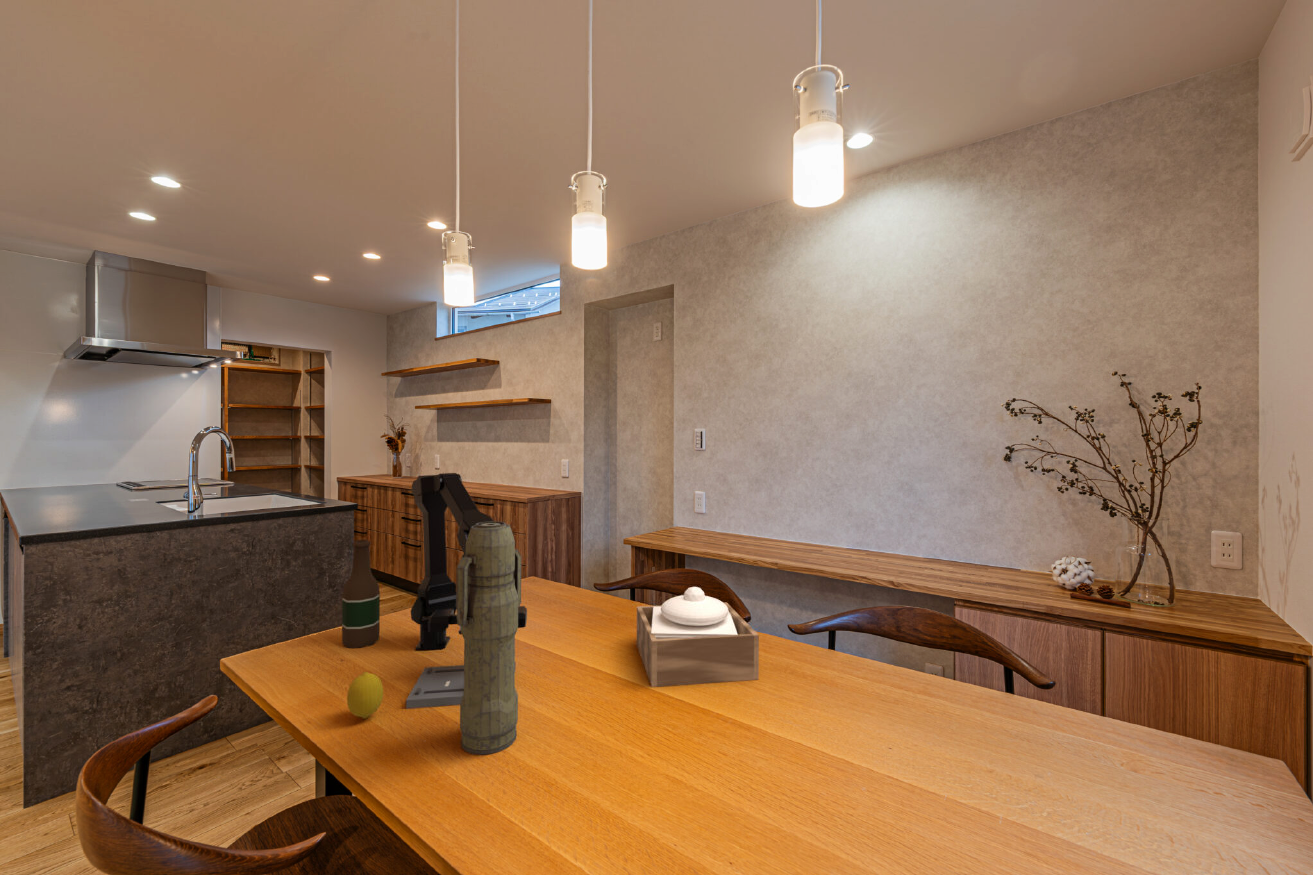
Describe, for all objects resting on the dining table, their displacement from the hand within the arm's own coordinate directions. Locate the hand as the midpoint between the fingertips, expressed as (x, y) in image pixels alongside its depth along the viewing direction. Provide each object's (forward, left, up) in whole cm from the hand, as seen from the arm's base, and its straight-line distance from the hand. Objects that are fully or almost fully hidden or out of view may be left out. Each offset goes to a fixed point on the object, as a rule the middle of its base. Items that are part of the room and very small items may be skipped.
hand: (478, 660), depth 112 cm
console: (+4, -2, -3) cm, 6 cm away
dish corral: (-1, +45, -3) cm, 45 cm away
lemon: (+14, -17, -4) cm, 22 cm away
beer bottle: (-23, -30, -4) cm, 38 cm away
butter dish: (-1, +45, -3) cm, 45 cm away
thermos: (+24, +5, -3) cm, 25 cm away
